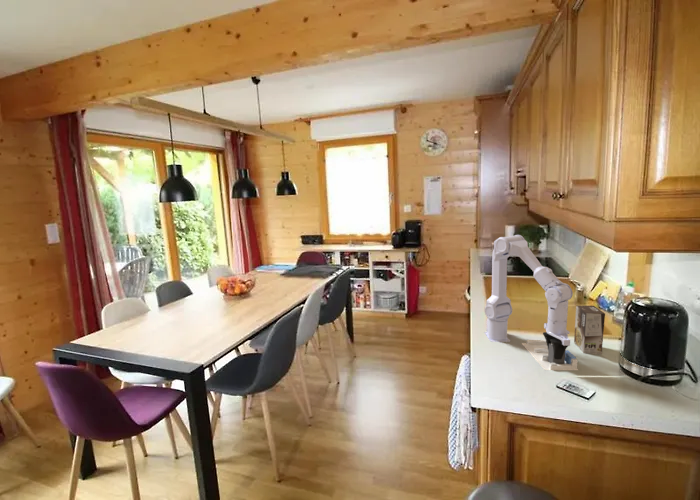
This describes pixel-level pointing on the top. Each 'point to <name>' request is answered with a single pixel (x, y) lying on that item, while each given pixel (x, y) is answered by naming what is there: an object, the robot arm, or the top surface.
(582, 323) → the coffee box
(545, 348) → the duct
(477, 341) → the top surface
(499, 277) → the robot arm
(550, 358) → the plug
